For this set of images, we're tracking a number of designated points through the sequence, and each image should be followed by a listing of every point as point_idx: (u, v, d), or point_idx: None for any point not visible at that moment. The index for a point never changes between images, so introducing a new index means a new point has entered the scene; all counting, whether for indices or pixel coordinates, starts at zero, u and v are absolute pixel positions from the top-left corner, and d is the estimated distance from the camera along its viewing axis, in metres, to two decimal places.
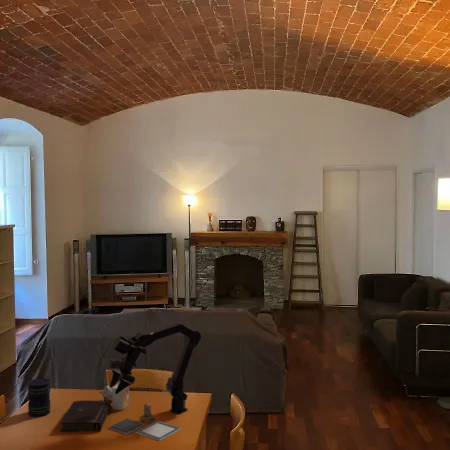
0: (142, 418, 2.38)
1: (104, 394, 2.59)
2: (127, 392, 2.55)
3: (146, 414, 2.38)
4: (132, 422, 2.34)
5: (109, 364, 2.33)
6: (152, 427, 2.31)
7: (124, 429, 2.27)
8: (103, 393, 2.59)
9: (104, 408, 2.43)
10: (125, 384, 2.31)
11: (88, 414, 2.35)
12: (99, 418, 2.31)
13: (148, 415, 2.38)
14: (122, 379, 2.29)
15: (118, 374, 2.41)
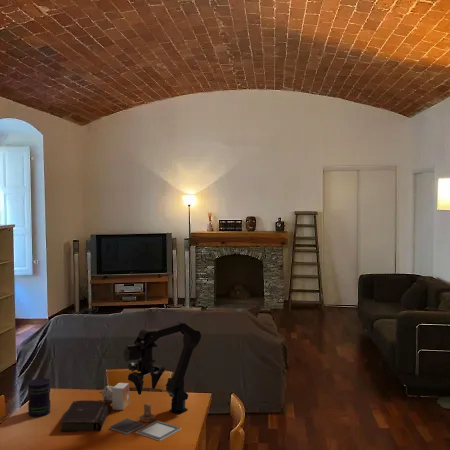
0: (142, 418, 2.38)
1: (104, 394, 2.59)
2: (127, 392, 2.55)
3: (146, 414, 2.38)
4: (132, 422, 2.34)
5: None
6: (152, 427, 2.31)
7: (124, 429, 2.27)
8: (103, 393, 2.59)
9: (104, 408, 2.43)
10: (139, 384, 2.33)
11: (88, 414, 2.35)
12: (99, 418, 2.31)
13: (148, 415, 2.38)
14: None
15: (155, 375, 2.42)
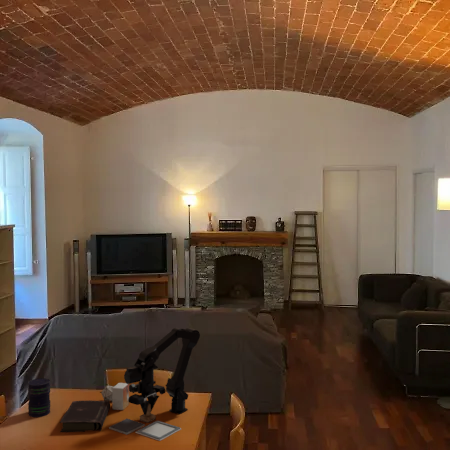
0: (142, 418, 2.38)
1: (104, 394, 2.59)
2: (127, 392, 2.55)
3: (146, 414, 2.38)
4: (132, 422, 2.34)
5: None
6: (152, 427, 2.31)
7: (124, 429, 2.27)
8: (103, 393, 2.59)
9: (104, 408, 2.43)
10: (144, 404, 2.36)
11: (88, 414, 2.35)
12: (99, 418, 2.32)
13: (148, 415, 2.38)
14: None
15: (151, 398, 2.40)
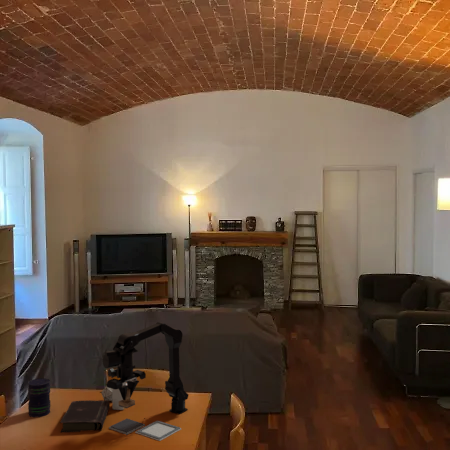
0: (121, 403, 2.29)
1: (104, 394, 2.59)
2: None
3: (125, 399, 2.29)
4: (132, 422, 2.34)
5: None
6: (152, 427, 2.31)
7: (124, 429, 2.27)
8: (103, 393, 2.59)
9: (103, 408, 2.43)
10: (123, 389, 2.27)
11: (88, 414, 2.35)
12: (100, 418, 2.32)
13: (127, 400, 2.30)
14: None
15: (131, 383, 2.32)
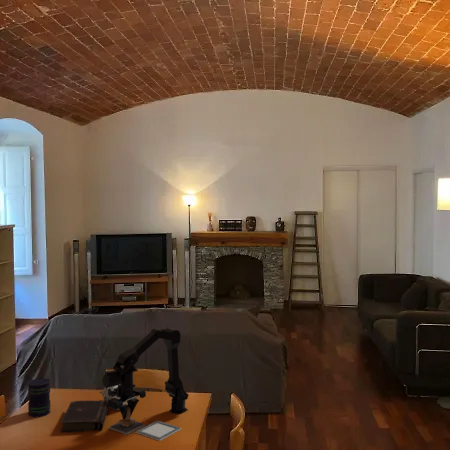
0: (121, 422, 2.30)
1: (104, 394, 2.59)
2: None
3: None
4: None
5: None
6: (152, 427, 2.31)
7: (124, 429, 2.27)
8: (103, 393, 2.59)
9: (103, 408, 2.43)
10: (123, 408, 2.28)
11: (88, 414, 2.35)
12: (100, 417, 2.32)
13: (127, 419, 2.30)
14: None
15: (131, 402, 2.32)
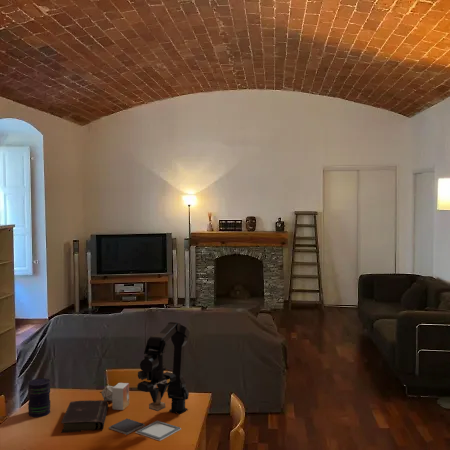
0: (151, 406, 2.26)
1: (104, 394, 2.59)
2: (127, 392, 2.55)
3: (156, 402, 2.26)
4: (132, 422, 2.34)
5: None
6: (152, 427, 2.31)
7: (124, 429, 2.27)
8: (103, 393, 2.59)
9: (103, 407, 2.43)
10: (154, 391, 2.24)
11: (88, 414, 2.35)
12: (100, 417, 2.32)
13: (158, 403, 2.26)
14: None
15: (161, 385, 2.28)
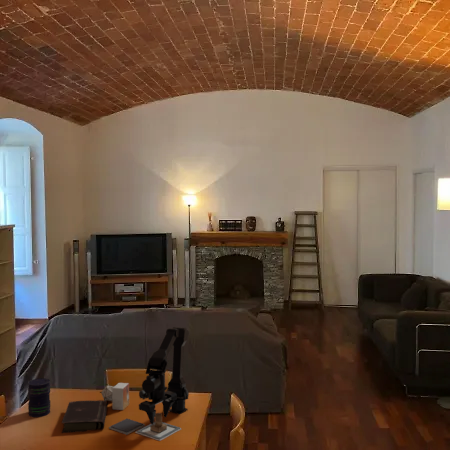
0: (153, 428, 2.26)
1: (104, 394, 2.59)
2: (127, 392, 2.55)
3: (157, 424, 2.26)
4: (132, 422, 2.34)
5: None
6: None
7: (124, 429, 2.27)
8: (103, 393, 2.59)
9: (103, 407, 2.44)
10: (151, 413, 2.22)
11: (88, 414, 2.35)
12: (101, 417, 2.32)
13: (159, 425, 2.26)
14: None
15: (166, 402, 2.31)
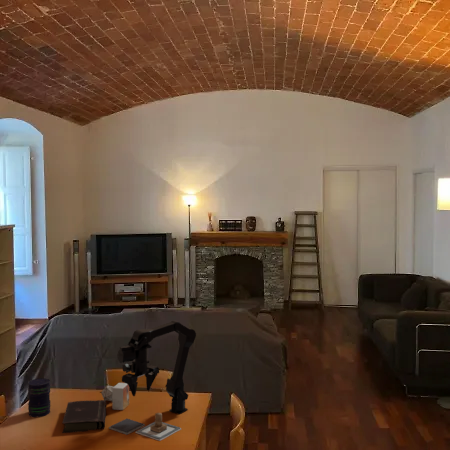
0: (153, 428, 2.26)
1: (104, 394, 2.59)
2: (127, 392, 2.55)
3: (157, 424, 2.26)
4: (132, 422, 2.34)
5: None
6: None
7: (124, 429, 2.27)
8: (103, 393, 2.59)
9: (102, 407, 2.44)
10: (133, 385, 2.31)
11: (88, 414, 2.35)
12: (101, 417, 2.33)
13: (159, 425, 2.26)
14: None
15: (149, 376, 2.40)
